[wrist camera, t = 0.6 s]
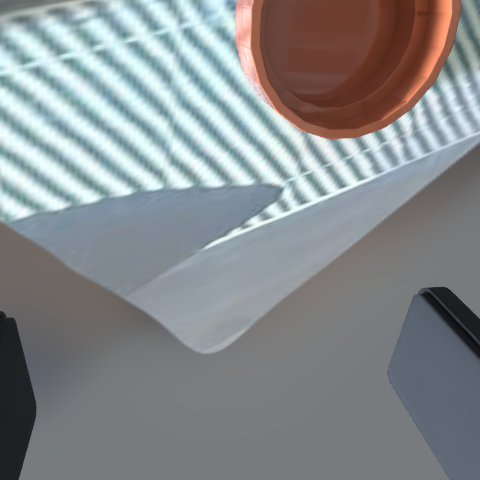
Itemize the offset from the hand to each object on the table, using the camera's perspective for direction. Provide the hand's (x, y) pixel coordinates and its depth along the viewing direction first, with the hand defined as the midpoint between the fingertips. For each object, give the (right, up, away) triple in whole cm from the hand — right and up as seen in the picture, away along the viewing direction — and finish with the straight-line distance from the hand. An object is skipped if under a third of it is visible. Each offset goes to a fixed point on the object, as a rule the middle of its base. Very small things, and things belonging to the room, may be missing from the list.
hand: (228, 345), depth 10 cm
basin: (+7, +19, +22) cm, 30 cm away
